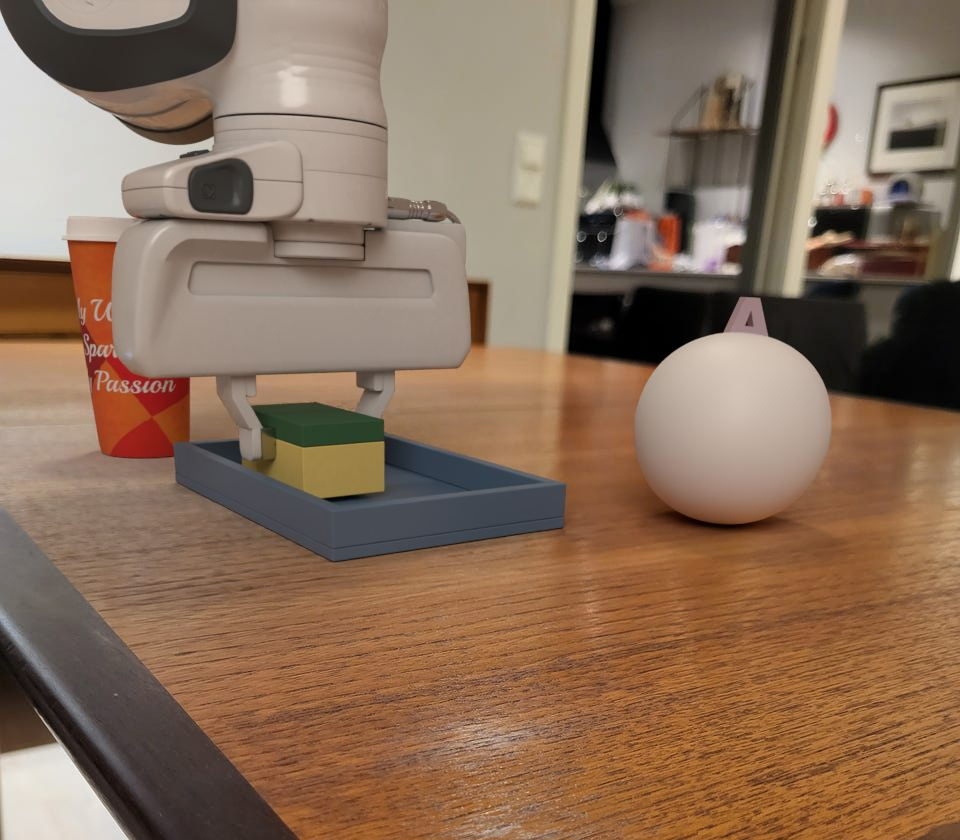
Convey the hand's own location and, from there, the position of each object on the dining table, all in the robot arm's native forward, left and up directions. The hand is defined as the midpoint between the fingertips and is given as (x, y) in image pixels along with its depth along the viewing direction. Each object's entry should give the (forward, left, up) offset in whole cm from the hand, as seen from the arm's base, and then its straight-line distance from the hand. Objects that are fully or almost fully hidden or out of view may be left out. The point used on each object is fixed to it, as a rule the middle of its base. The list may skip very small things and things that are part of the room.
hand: (309, 454), depth 57 cm
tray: (+2, +2, -3) cm, 4 cm away
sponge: (0, 0, -2) cm, 2 cm away
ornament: (+15, +18, -3) cm, 24 cm away
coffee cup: (-19, -3, -3) cm, 19 cm away
